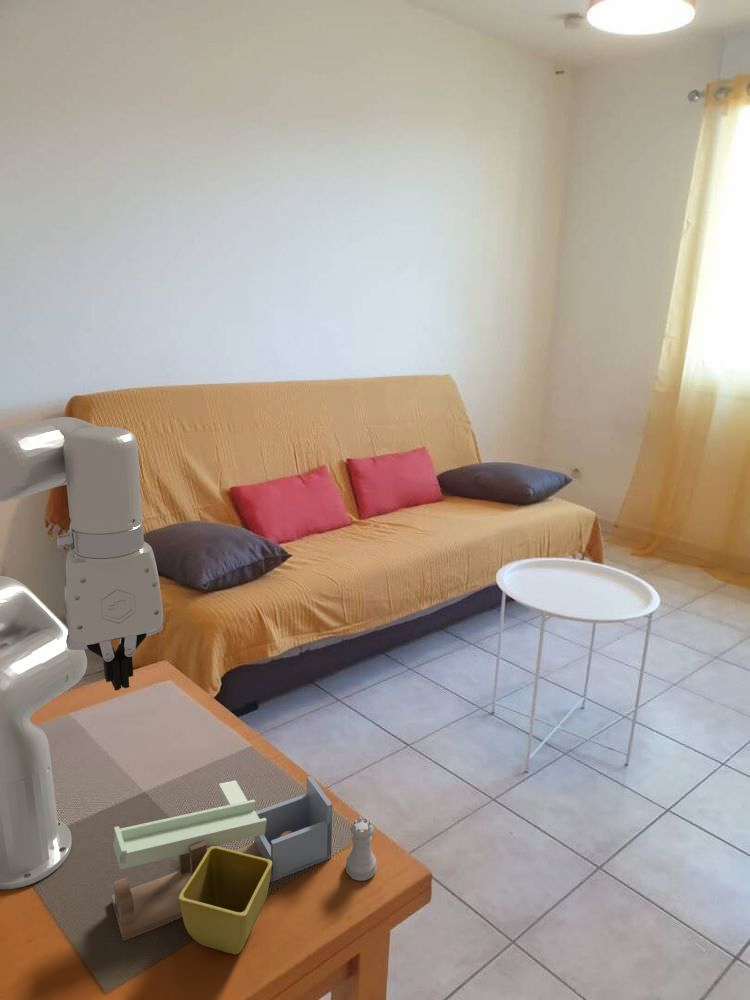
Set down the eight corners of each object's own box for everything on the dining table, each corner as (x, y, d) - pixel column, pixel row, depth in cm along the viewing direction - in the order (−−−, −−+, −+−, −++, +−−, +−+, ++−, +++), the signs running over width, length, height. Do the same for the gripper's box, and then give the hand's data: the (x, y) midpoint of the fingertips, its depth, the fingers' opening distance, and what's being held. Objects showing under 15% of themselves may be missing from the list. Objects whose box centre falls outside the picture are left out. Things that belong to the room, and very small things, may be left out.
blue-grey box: (254, 847, 105) (253, 794, 102) (310, 826, 109) (311, 775, 107) (273, 881, 99) (272, 825, 96) (331, 857, 104) (332, 804, 101)
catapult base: (112, 901, 95) (106, 840, 92) (254, 848, 105) (253, 790, 102) (123, 941, 89) (117, 877, 87) (272, 880, 99) (272, 821, 96)
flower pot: (244, 975, 86) (244, 916, 83) (178, 955, 88) (176, 897, 85) (272, 915, 94) (273, 859, 91) (211, 898, 96) (210, 844, 93)
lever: (102, 811, 97) (104, 795, 96) (236, 784, 107) (238, 769, 106) (120, 869, 88) (121, 851, 87) (264, 834, 98) (267, 817, 97)
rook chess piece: (357, 853, 105) (359, 807, 102) (383, 868, 102) (385, 821, 100) (338, 872, 101) (339, 825, 99) (364, 888, 99) (366, 840, 96)
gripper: (39, 561, 73) (56, 716, 79) (184, 539, 81) (191, 683, 86) (31, 538, 79) (47, 684, 85) (166, 520, 87) (173, 655, 92)
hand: (119, 683), depth 85 cm, fingers closed
